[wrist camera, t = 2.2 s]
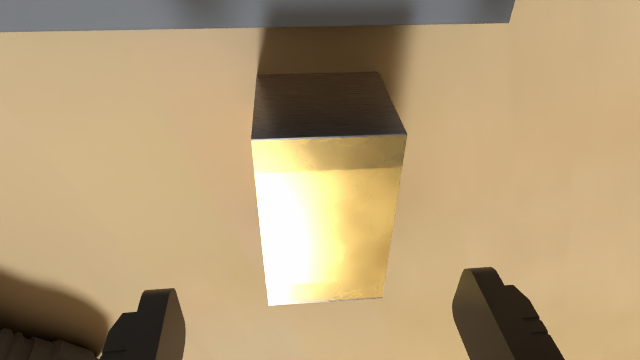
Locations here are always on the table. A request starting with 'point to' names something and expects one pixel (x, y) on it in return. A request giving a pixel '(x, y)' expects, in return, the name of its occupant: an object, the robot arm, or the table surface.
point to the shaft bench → (241, 13)
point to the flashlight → (39, 348)
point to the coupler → (325, 183)
